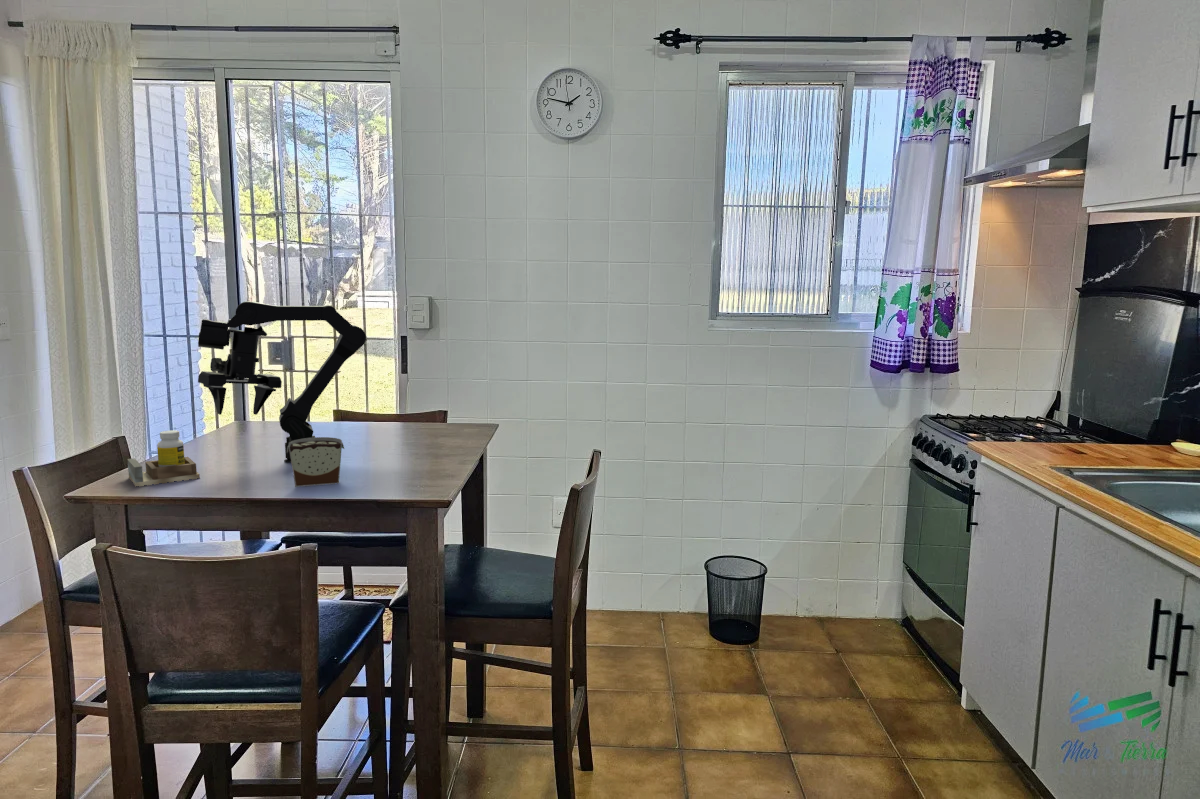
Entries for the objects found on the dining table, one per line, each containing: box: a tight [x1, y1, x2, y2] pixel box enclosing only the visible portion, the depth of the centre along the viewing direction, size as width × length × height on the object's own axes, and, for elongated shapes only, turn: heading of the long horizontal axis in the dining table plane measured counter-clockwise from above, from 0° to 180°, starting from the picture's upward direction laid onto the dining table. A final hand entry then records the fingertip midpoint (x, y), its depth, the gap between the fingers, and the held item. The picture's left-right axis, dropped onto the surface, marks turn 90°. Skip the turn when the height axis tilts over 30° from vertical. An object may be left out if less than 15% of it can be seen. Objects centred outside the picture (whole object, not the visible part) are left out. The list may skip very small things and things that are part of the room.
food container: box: [287, 436, 345, 488], centre depth 180 cm, size 12×6×10 cm, turn 111°
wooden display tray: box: [127, 456, 201, 487], centre depth 182 cm, size 13×10×4 cm
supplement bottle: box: [156, 429, 185, 467], centre depth 183 cm, size 5×5×10 cm
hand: (237, 414), depth 194 cm, fingers open, 9 cm apart
